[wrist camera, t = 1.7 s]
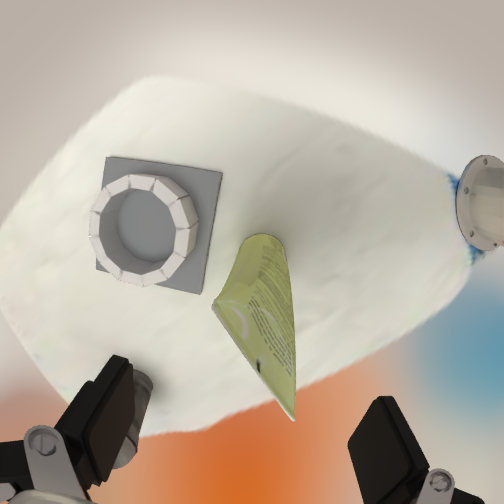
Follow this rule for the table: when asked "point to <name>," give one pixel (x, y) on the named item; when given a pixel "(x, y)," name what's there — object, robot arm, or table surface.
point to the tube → (262, 315)
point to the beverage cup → (135, 418)
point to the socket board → (154, 223)
